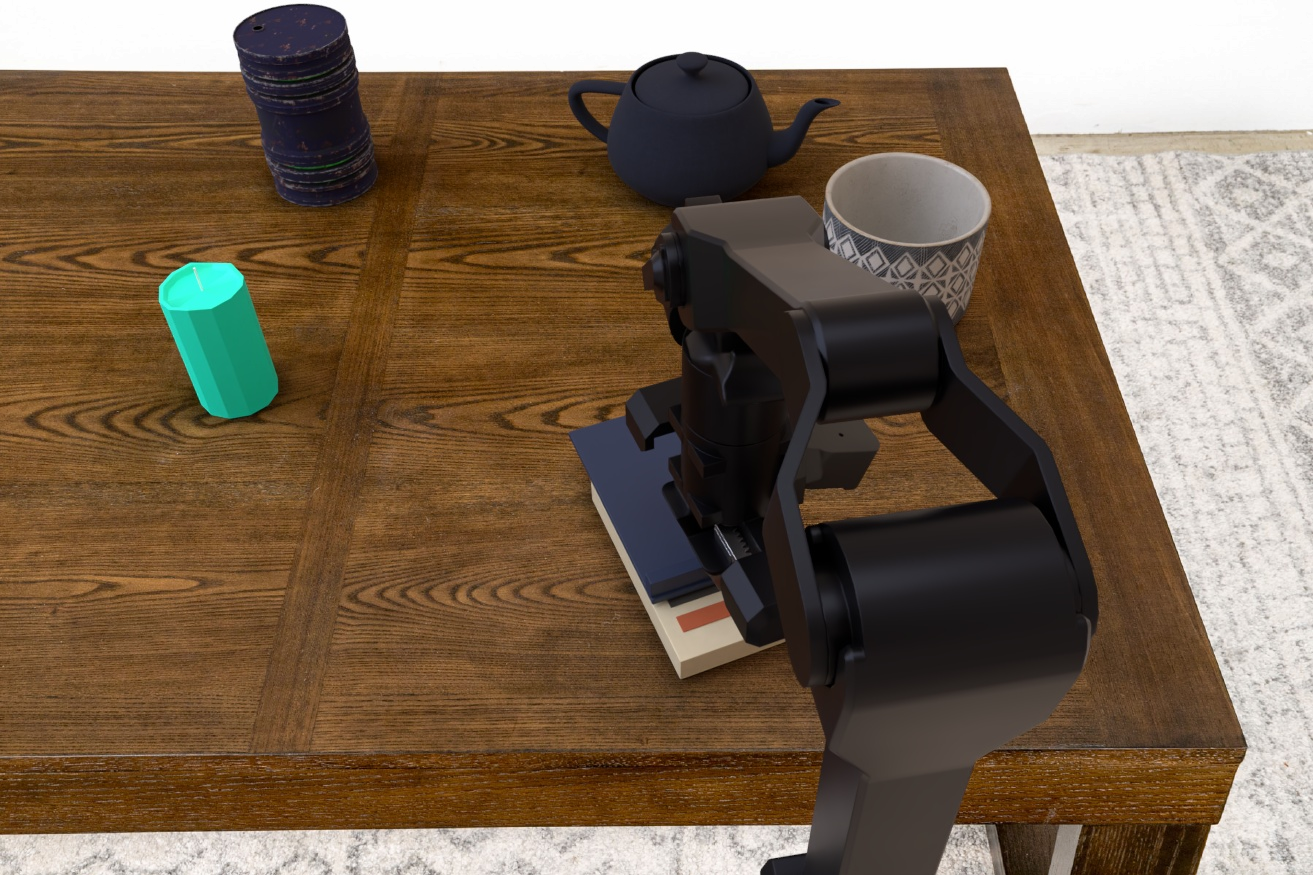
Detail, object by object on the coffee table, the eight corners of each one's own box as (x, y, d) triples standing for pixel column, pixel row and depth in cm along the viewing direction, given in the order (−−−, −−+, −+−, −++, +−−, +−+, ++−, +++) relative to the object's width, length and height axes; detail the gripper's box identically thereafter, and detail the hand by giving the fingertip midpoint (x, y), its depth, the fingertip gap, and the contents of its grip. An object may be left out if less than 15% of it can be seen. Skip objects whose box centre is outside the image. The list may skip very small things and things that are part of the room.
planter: (954, 366, 91) (979, 259, 84) (798, 333, 94) (809, 228, 87) (976, 271, 100) (1001, 167, 92) (831, 244, 102) (844, 141, 95)
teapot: (548, 205, 107) (537, 85, 98) (596, 119, 117) (590, 3, 109) (816, 245, 102) (830, 122, 94) (842, 151, 113) (856, 33, 104)
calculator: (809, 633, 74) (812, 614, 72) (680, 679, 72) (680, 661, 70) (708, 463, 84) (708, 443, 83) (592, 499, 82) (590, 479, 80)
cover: (783, 560, 75) (786, 542, 74) (652, 605, 73) (652, 587, 71) (686, 401, 85) (686, 383, 84) (568, 436, 83) (567, 417, 82)
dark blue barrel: (390, 151, 114) (361, 5, 103) (364, 209, 107) (330, 59, 96) (291, 147, 114) (252, 1, 104) (259, 205, 107) (213, 55, 97)
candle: (268, 418, 88) (224, 295, 79) (190, 418, 88) (137, 295, 79) (287, 365, 92) (247, 242, 83) (212, 365, 92) (164, 242, 84)
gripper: (960, 485, 58) (913, 659, 69) (791, 271, 70) (774, 448, 81) (758, 553, 55) (743, 723, 66) (618, 317, 67) (625, 495, 78)
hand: (724, 584), depth 73 cm, fingers closed
